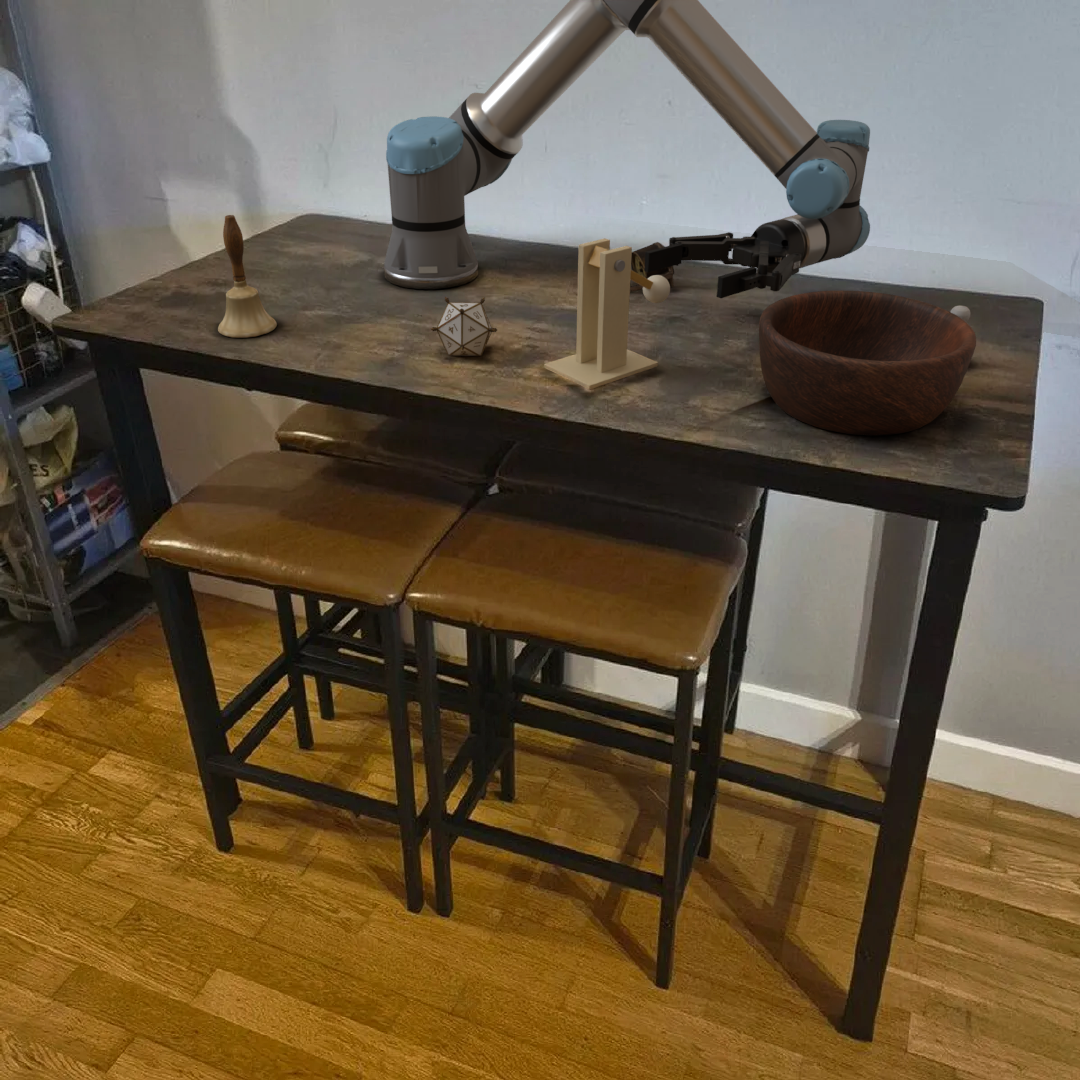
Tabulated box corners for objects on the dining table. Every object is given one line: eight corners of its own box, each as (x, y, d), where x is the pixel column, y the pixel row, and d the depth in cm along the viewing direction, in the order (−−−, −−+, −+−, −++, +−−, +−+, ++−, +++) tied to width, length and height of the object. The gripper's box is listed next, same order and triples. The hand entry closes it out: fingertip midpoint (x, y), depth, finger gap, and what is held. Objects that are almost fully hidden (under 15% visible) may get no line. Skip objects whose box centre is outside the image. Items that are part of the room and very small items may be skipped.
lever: (649, 302, 142) (660, 277, 142) (668, 309, 140) (679, 284, 139) (582, 266, 132) (593, 239, 131) (601, 273, 130) (613, 245, 129)
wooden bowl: (714, 379, 138) (721, 303, 132) (873, 353, 145) (886, 279, 140) (826, 464, 118) (841, 378, 112) (1004, 427, 126) (1025, 345, 120)
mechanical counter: (682, 267, 160) (679, 234, 167) (598, 259, 159) (598, 226, 166) (673, 308, 165) (670, 275, 172) (592, 300, 164) (592, 266, 172)
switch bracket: (611, 352, 146) (616, 229, 137) (657, 372, 140) (665, 245, 131) (543, 373, 139) (544, 246, 130) (589, 395, 133) (593, 264, 124)
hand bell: (206, 333, 151) (186, 220, 143) (240, 314, 158) (223, 205, 149) (254, 341, 149) (237, 227, 140) (288, 322, 155) (273, 211, 147)
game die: (471, 388, 144) (465, 350, 135) (423, 355, 146) (414, 315, 137) (512, 342, 147) (508, 301, 137) (464, 310, 149) (457, 268, 139)
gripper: (853, 293, 147) (749, 327, 135) (719, 251, 163) (617, 278, 152) (861, 238, 143) (756, 269, 131) (724, 201, 159) (619, 225, 148)
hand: (681, 274), depth 142 cm, fingers open, 13 cm apart
